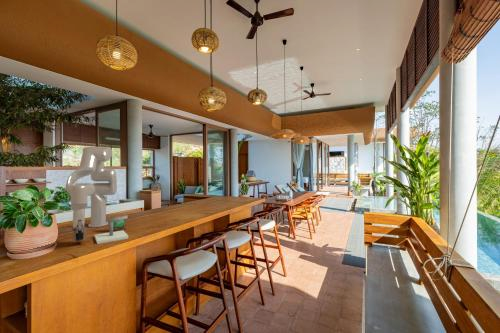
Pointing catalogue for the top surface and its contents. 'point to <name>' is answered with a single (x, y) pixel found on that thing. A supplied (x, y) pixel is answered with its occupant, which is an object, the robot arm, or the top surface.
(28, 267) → the top surface
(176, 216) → the top surface
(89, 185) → the robot arm
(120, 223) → the food container
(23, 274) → the top surface
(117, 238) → the post stand
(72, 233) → the bead
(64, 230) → the top surface
